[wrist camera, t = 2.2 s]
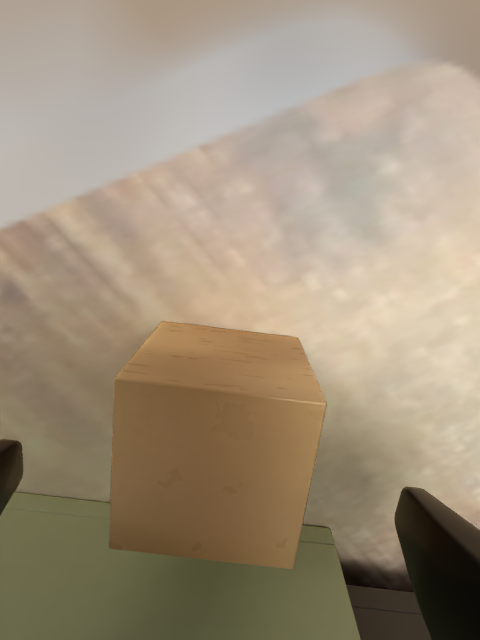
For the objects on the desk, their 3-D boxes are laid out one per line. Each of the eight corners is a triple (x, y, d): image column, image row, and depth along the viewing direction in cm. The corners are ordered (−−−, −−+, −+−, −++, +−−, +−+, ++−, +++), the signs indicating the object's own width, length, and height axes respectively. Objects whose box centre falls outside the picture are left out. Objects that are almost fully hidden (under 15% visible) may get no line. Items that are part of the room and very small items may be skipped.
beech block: (298, 337, 12) (327, 403, 8) (278, 455, 14) (293, 570, 9) (161, 320, 12) (113, 377, 8) (153, 440, 13) (107, 549, 9)
